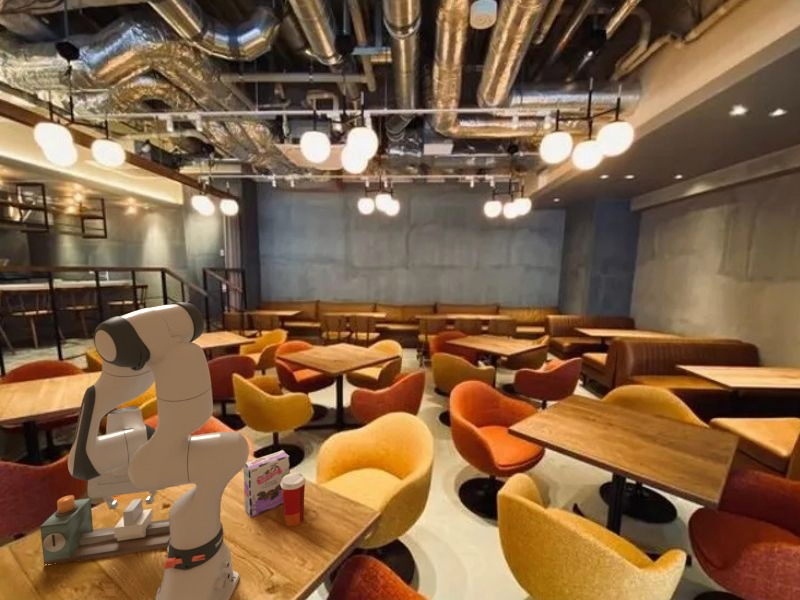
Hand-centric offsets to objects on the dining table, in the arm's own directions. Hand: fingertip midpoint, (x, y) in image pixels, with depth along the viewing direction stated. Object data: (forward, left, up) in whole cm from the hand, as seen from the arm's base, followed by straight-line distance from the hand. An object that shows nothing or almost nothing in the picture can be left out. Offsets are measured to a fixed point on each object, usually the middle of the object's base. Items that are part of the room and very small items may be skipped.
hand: (132, 505), depth 109 cm
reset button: (0, +16, +2) cm, 16 cm away
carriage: (0, 0, -9) cm, 9 cm away
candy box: (+8, -37, -11) cm, 39 cm away
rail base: (0, +4, -11) cm, 11 cm away
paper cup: (-2, -46, -11) cm, 47 cm away
